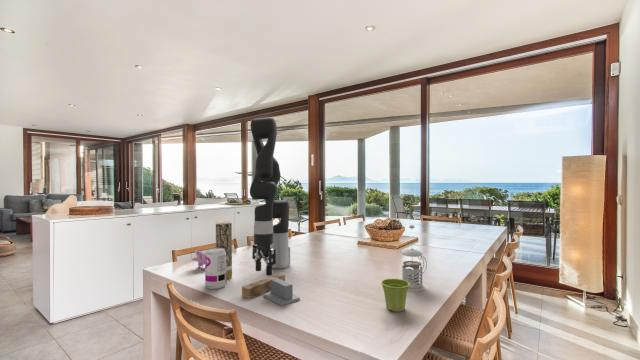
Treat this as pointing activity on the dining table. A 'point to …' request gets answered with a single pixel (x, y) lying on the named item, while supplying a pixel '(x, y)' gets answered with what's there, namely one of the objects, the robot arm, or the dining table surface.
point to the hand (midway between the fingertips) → (263, 273)
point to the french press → (408, 273)
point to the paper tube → (225, 243)
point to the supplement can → (215, 268)
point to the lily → (199, 258)
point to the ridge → (281, 292)
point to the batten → (259, 286)
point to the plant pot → (395, 293)
